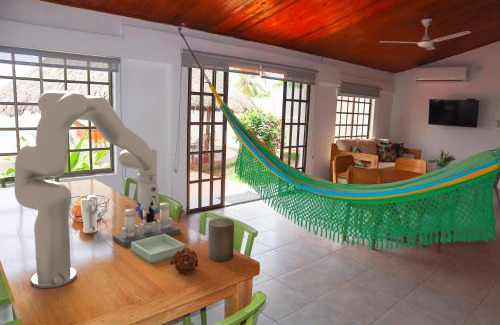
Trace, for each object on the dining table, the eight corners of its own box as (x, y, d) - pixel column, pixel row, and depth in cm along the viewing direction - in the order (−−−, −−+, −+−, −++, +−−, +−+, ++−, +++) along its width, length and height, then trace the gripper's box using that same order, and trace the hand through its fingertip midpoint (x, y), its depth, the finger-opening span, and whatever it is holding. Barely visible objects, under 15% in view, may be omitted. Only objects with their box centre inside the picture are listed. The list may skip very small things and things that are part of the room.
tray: (185, 253, 140) (185, 244, 139) (150, 263, 129) (150, 254, 129) (164, 241, 150) (164, 233, 149) (131, 250, 140) (130, 242, 139)
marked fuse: (154, 229, 154) (154, 204, 152) (145, 231, 151) (145, 205, 150) (149, 226, 157) (149, 202, 155) (140, 228, 154) (140, 203, 152)
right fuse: (170, 228, 160) (170, 204, 158) (162, 230, 157) (162, 205, 156) (165, 225, 163) (166, 202, 161) (157, 227, 160) (158, 203, 158)
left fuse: (136, 236, 149) (136, 210, 147) (127, 238, 146) (127, 212, 145) (132, 233, 152) (132, 208, 150) (123, 235, 149) (122, 209, 147)
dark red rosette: (191, 283, 120) (176, 274, 130) (209, 263, 124) (193, 256, 134) (176, 266, 117) (161, 258, 127) (194, 246, 121) (179, 240, 130)
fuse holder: (180, 233, 161) (180, 220, 160) (124, 247, 142) (123, 232, 141) (168, 226, 168) (168, 214, 167) (113, 240, 149) (112, 226, 148)
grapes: (139, 225, 168) (139, 200, 166) (133, 221, 173) (133, 196, 171) (162, 220, 176) (162, 196, 174) (156, 217, 181) (156, 193, 179)
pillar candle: (238, 255, 140) (239, 217, 137) (223, 264, 131) (224, 224, 129) (217, 249, 145) (218, 213, 142) (202, 257, 136) (202, 219, 134)
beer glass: (92, 234, 155) (91, 200, 152) (78, 232, 156) (76, 198, 153) (102, 229, 161) (101, 196, 159) (88, 227, 163) (87, 194, 160)
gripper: (166, 180, 148) (165, 224, 150) (145, 174, 159) (145, 214, 162) (149, 182, 142) (149, 227, 145) (129, 175, 154) (129, 217, 157)
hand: (147, 220), depth 154 cm, fingers closed on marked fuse, 3 cm apart
